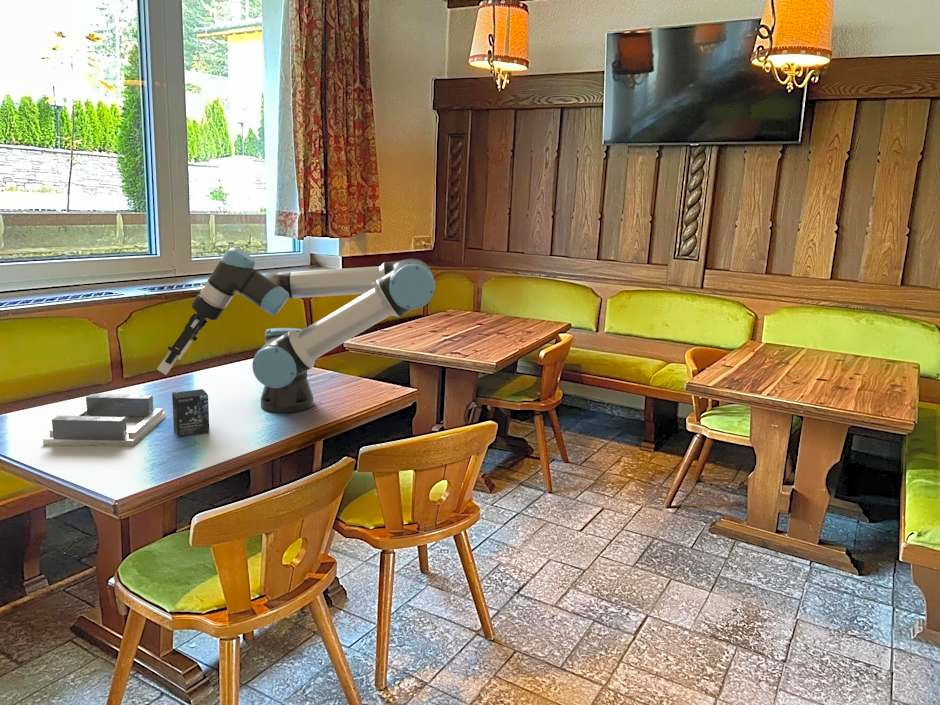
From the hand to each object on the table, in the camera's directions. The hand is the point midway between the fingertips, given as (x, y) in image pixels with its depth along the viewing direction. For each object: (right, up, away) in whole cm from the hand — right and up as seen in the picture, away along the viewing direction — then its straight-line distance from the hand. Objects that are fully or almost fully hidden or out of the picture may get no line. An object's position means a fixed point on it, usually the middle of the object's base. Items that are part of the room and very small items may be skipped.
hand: (168, 364), depth 188 cm
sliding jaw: (-13, -13, 0) cm, 19 cm away
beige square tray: (-13, -17, -7) cm, 22 cm away
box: (+8, -18, -6) cm, 20 cm away
